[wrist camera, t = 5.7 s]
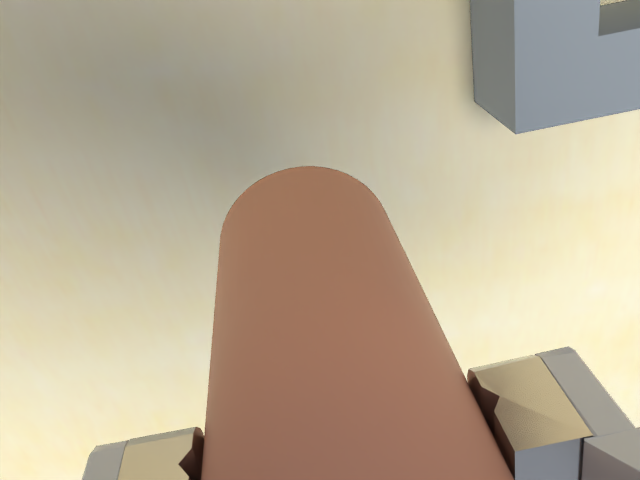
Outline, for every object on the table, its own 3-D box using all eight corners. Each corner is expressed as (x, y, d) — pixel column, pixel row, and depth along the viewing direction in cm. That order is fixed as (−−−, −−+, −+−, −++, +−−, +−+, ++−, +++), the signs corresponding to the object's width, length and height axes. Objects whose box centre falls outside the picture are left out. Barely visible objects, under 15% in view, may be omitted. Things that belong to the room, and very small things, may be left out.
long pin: (242, 331, 15) (236, 1106, 5) (199, 186, 13) (58, 995, 3) (399, 298, 15) (685, 1002, 5) (379, 149, 13) (781, 835, 3)
